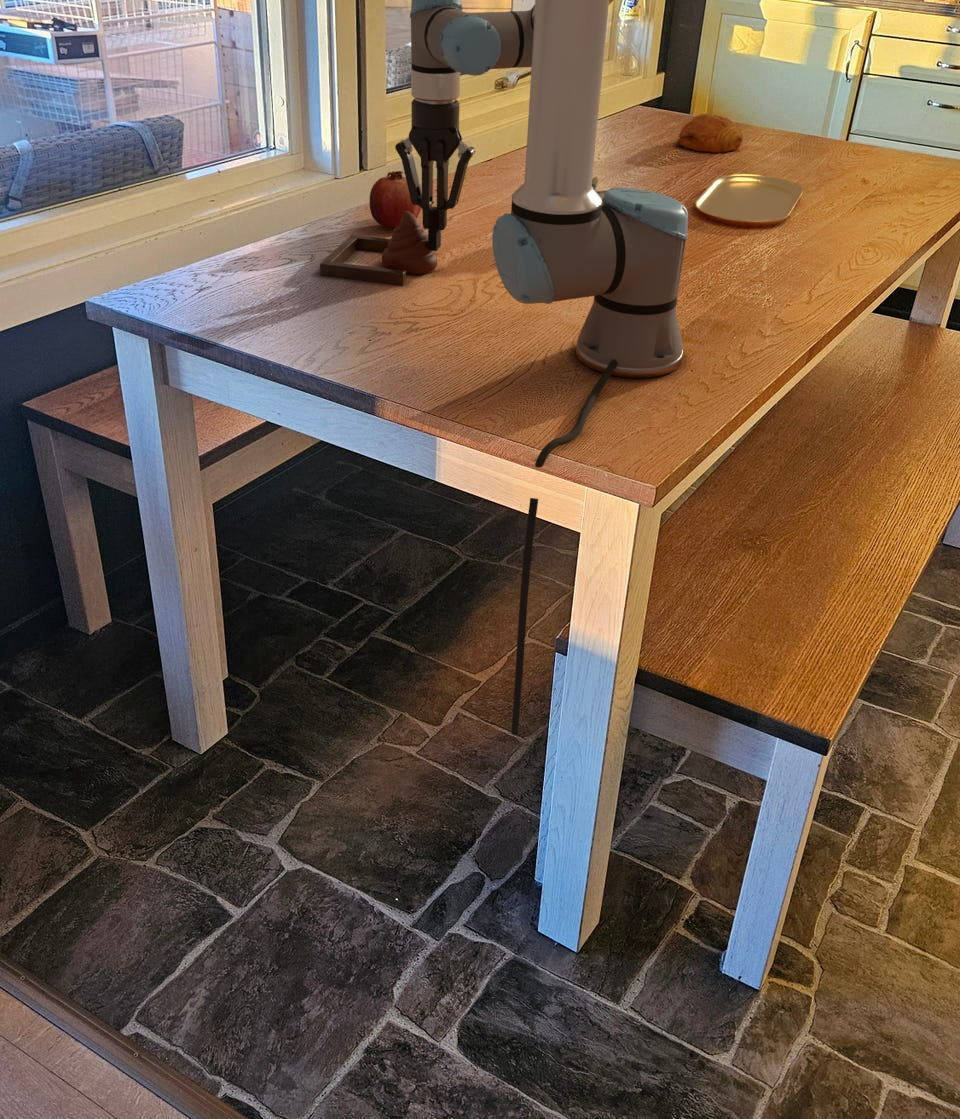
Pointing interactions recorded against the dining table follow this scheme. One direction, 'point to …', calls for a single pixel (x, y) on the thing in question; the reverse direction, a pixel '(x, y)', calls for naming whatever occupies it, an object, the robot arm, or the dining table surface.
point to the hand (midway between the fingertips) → (434, 248)
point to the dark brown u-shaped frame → (338, 269)
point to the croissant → (710, 134)
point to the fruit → (391, 200)
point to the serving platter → (749, 200)
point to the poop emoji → (409, 248)
